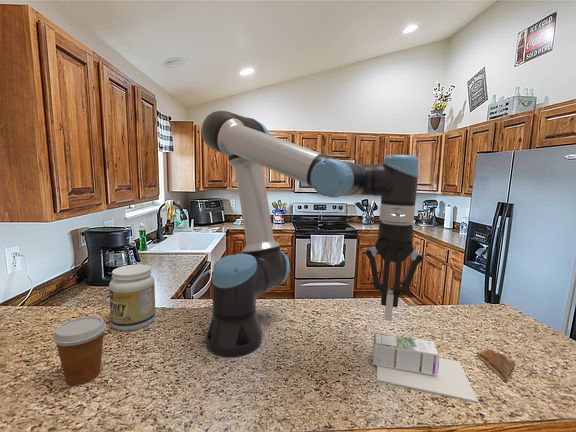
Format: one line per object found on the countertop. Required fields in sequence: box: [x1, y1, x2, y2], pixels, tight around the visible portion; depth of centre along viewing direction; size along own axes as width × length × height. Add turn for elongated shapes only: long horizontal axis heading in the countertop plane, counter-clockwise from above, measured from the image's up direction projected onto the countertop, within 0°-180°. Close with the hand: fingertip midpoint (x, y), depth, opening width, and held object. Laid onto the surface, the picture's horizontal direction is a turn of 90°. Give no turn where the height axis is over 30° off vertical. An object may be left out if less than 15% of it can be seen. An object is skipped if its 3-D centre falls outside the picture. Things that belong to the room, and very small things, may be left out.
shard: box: [476, 348, 516, 382], centre depth 72 cm, size 11×8×2 cm
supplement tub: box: [108, 264, 156, 332], centre depth 87 cm, size 12×12×17 cm
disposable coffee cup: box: [52, 315, 107, 386], centre depth 63 cm, size 10×10×12 cm
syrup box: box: [372, 332, 440, 376], centre depth 70 cm, size 6×6×14 cm
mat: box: [376, 357, 479, 404], centre depth 69 cm, size 20×14×1 cm
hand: (387, 318), depth 70 cm, fingers closed
